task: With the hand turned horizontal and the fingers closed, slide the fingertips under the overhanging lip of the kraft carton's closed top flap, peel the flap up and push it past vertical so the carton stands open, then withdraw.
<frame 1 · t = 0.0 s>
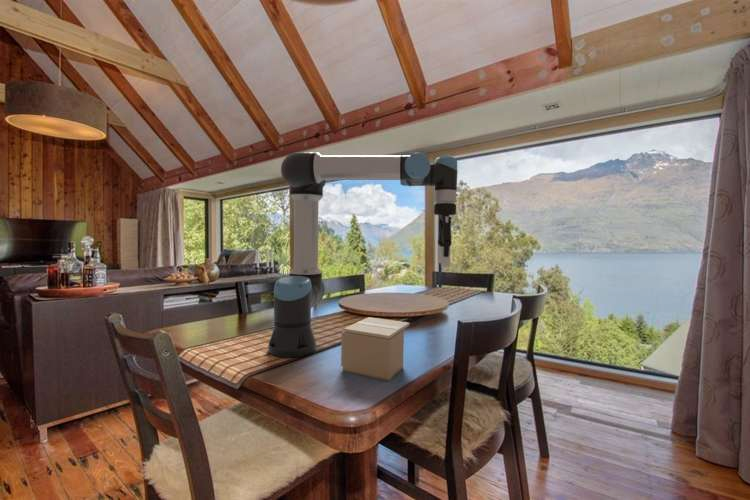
hand: (443, 264, 119), 28 cm above the table, tool pointing down, fingers open, 13 cm apart
flap: (377, 326, 98), point 12 cm above the table, hinge at 0.0°
carton: (373, 369, 97), on the table
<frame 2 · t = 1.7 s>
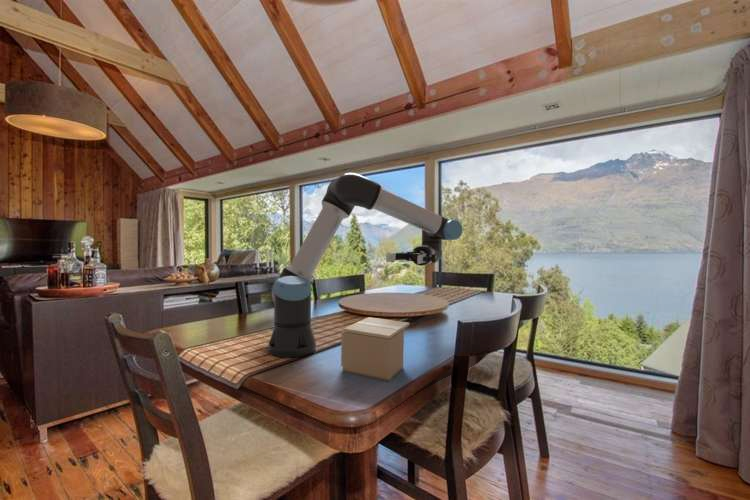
hand: (402, 258, 114), 30 cm above the table, tool horizontal, fingers open, 10 cm apart
nothing on the table moved.
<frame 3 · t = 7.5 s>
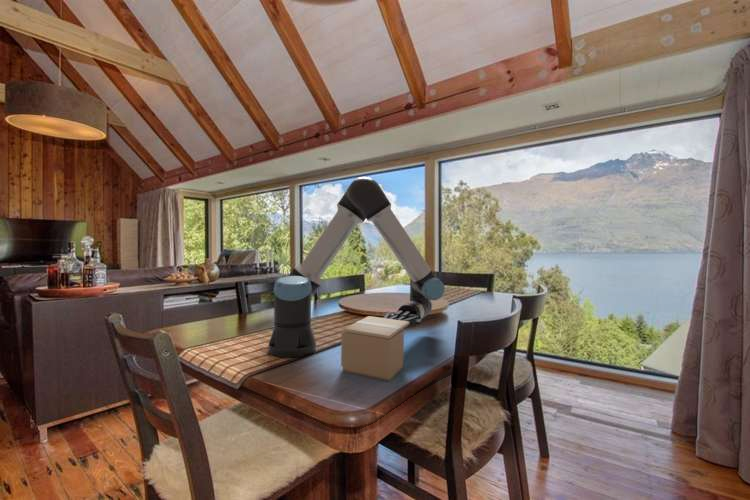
hand: (383, 329, 102), 10 cm above the table, tool horizontal, fingers closed
flap: (377, 326, 98), point 12 cm above the table, hinge at 1.2°, touching gripper
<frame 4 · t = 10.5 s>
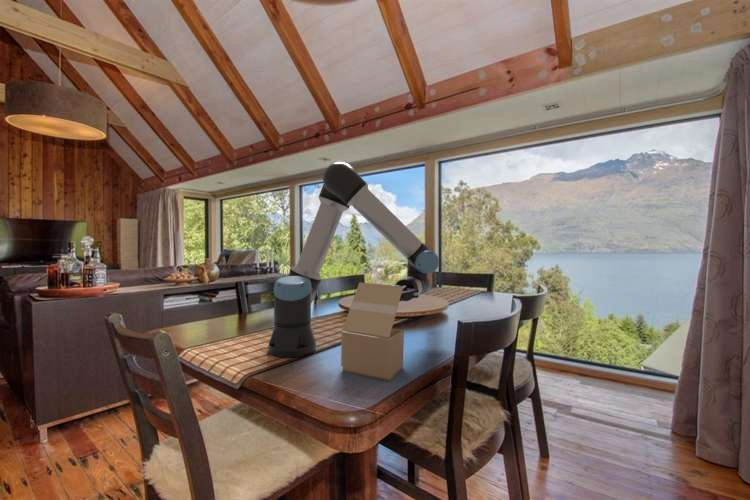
hand: (379, 300, 98), 19 cm above the table, tool horizontal, fingers closed
flap: (373, 308, 95), point 18 cm above the table, hinge at 51.9°, touching gripper
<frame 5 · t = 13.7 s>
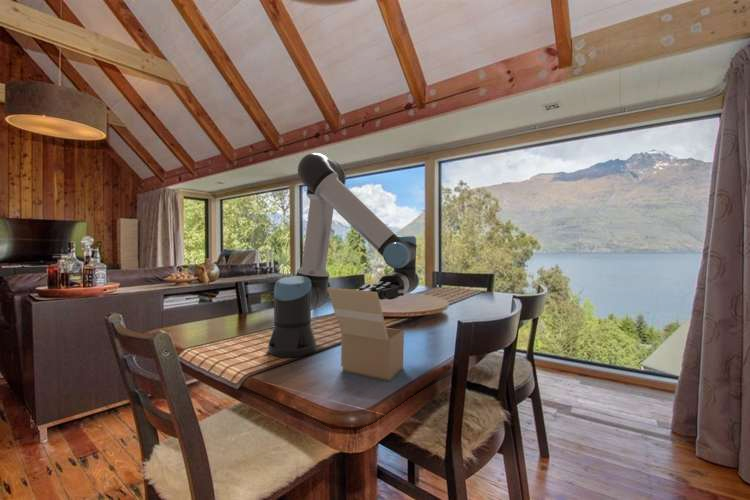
hand: (357, 298, 86), 22 cm above the table, tool horizontal, fingers closed
flap: (358, 314, 87), point 18 cm above the table, hinge at 119.4°, touching gripper
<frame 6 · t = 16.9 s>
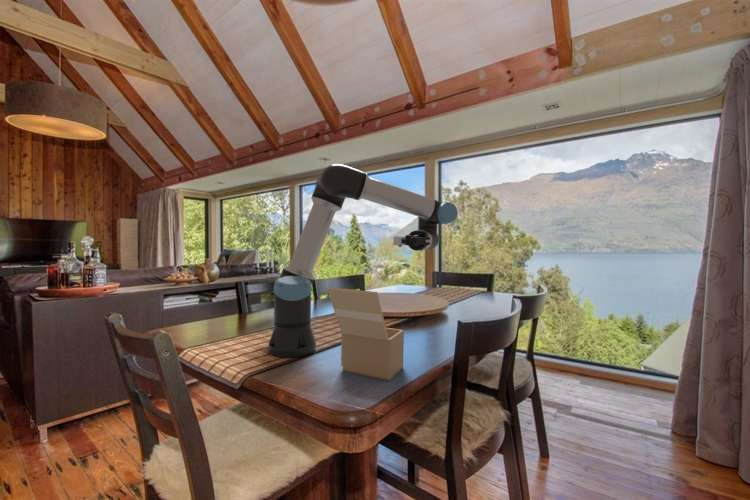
hand: (395, 241, 108), 36 cm above the table, tool horizontal, fingers closed
flap: (358, 314, 87), point 18 cm above the table, hinge at 119.4°
at the end: flap at +119° (first picture: +0°); flap touching nothing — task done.
